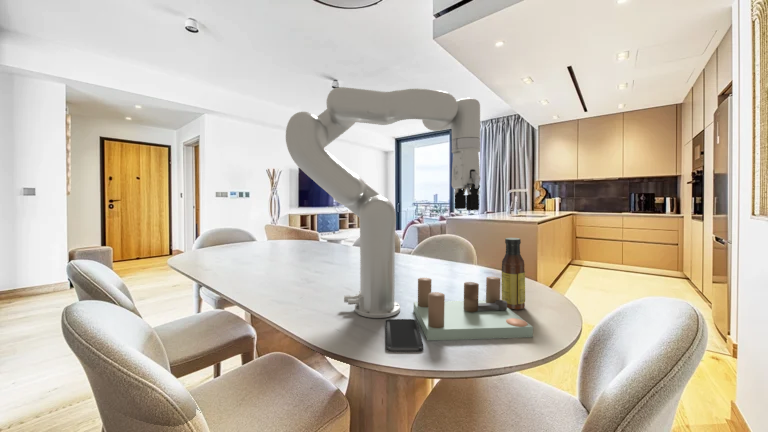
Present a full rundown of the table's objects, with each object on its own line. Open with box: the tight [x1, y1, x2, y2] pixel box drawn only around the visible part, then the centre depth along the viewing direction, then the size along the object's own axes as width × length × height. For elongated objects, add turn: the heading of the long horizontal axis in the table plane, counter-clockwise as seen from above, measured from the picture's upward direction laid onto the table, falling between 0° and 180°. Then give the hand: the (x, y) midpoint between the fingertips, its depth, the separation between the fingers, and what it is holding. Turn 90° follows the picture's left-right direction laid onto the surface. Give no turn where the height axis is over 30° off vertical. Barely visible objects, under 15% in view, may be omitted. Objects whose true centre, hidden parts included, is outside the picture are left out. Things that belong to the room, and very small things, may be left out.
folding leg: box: [463, 281, 507, 312], centre depth 79 cm, size 11×4×7 cm, turn 94°
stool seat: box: [413, 276, 534, 341], centre depth 77 cm, size 24×18×9 cm
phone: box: [385, 318, 424, 353], centre depth 70 cm, size 8×1×15 cm
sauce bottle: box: [501, 237, 526, 311], centre depth 88 cm, size 7×6×20 cm
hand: (466, 209), depth 85 cm, fingers open, 9 cm apart
